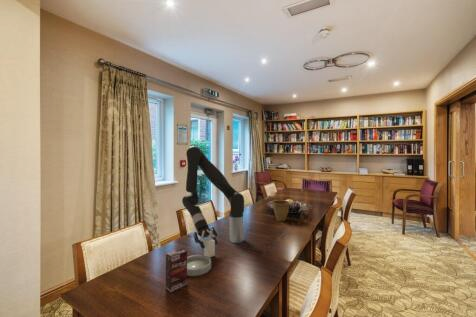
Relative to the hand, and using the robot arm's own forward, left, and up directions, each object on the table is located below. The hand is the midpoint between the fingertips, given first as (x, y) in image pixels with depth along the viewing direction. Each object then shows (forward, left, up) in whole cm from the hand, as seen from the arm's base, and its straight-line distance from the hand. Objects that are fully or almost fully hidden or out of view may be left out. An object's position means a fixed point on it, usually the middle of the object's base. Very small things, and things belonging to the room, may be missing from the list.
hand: (210, 246), depth 133 cm
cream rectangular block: (0, -1, -6) cm, 6 cm away
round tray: (+13, +6, -6) cm, 15 cm away
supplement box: (+28, +15, -6) cm, 32 cm away
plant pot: (-85, -16, -6) cm, 87 cm away
